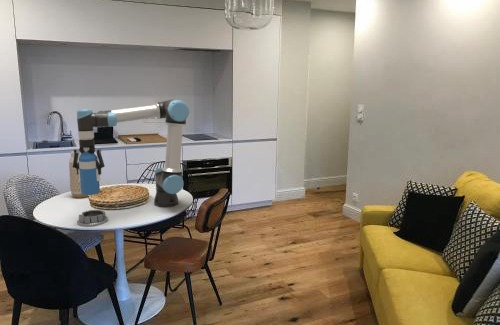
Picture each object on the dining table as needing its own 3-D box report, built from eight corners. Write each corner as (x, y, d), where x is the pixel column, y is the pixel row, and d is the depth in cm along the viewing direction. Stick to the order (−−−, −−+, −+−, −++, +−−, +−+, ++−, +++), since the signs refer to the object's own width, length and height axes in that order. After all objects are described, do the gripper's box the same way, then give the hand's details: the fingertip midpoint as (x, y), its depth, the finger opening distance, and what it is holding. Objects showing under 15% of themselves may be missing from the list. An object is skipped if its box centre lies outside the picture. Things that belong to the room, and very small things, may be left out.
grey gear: (112, 216, 225) (111, 208, 224) (101, 226, 210) (101, 218, 209) (84, 216, 226) (83, 208, 225) (71, 226, 210) (70, 218, 209)
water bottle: (103, 191, 218) (100, 146, 213) (91, 195, 209) (88, 148, 205) (89, 190, 221) (86, 145, 217) (77, 194, 213) (73, 148, 208)
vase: (68, 196, 269) (63, 151, 263) (88, 192, 278) (84, 148, 272) (75, 200, 259) (71, 153, 253) (96, 196, 268) (92, 151, 262)
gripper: (109, 138, 213) (112, 179, 217) (69, 137, 214) (73, 178, 218) (104, 139, 206) (107, 182, 210) (62, 139, 206) (66, 182, 211)
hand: (89, 180), depth 214 cm, fingers closed on water bottle, 9 cm apart
